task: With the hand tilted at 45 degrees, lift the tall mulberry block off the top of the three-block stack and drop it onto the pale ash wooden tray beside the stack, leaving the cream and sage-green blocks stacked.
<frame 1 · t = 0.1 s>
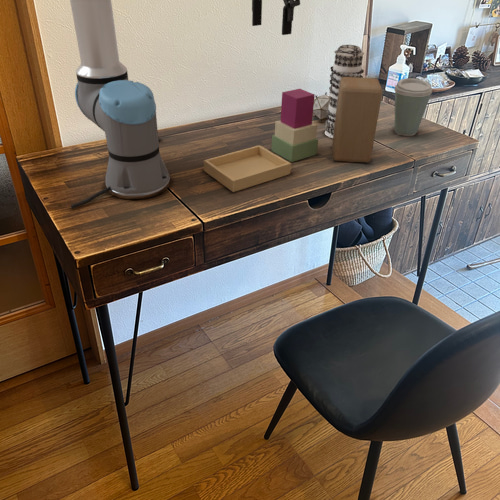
hand: (271, 29, 134), 28 cm above the table, tool pointing down, fingers open, 13 cm apart
game die: (321, 120, 157), on the table
disposable coffee cup: (404, 133, 149), on the table
sage block: (293, 152, 135), on the table, touching cream block
tray: (247, 172, 125), on the table
leaning tower model: (338, 134, 147), on the table
wooden block: (350, 156, 135), on the table
build plate: (135, 143, 139), on the table
mulberry block: (296, 123, 130), point 8 cm above the table, touching cream block
cream block: (295, 137, 133), point 4 cm above the table, touching mulberry block, sage block
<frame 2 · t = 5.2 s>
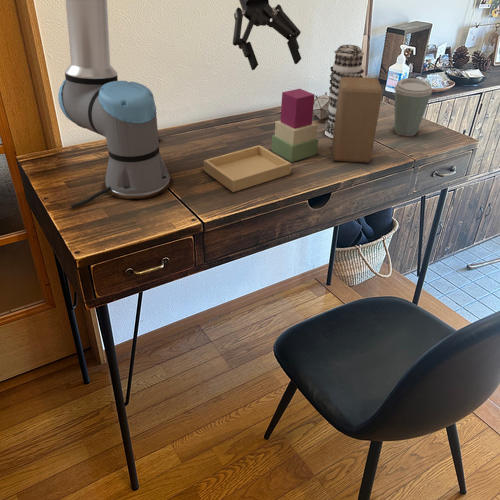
hand: (277, 64, 130), 21 cm above the table, tool tilted 45°, fingers open, 13 cm apart
nothing on the table moved.
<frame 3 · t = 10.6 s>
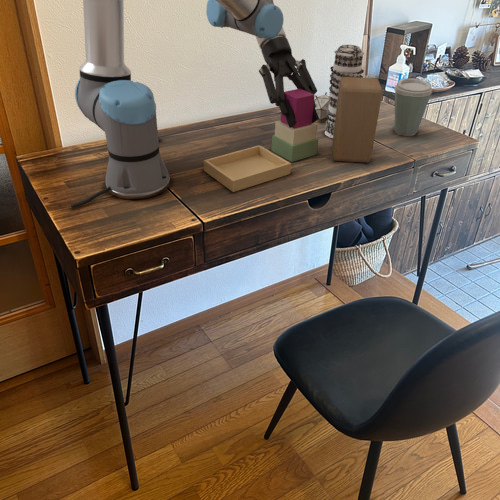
hand: (304, 122, 127), 10 cm above the table, tool tilted 45°, fingers closed on cream block, mulberry block, 6 cm apart
mulberry block: (296, 123, 130), point 9 cm above the table, touching gripper
cream block: (295, 137, 133), point 5 cm above the table, touching gripper, sage block
everything else where it was.
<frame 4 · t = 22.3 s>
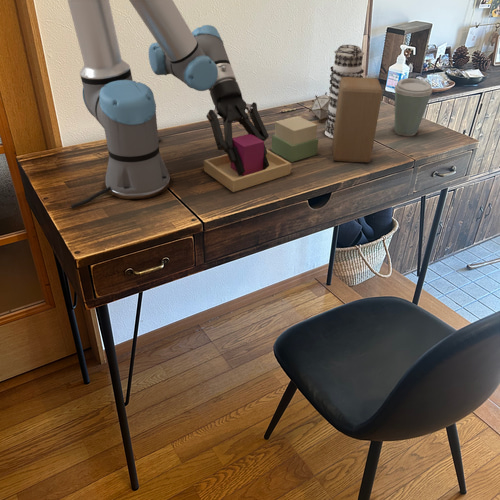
hand: (254, 170, 121), 2 cm above the table, tool tilted 45°, fingers closed on mulberry block, 6 cm apart
mulberry block: (246, 169, 124), point 1 cm above the table, touching gripper
cream block: (295, 137, 133), point 4 cm above the table, touching sage block
everything else where it was.
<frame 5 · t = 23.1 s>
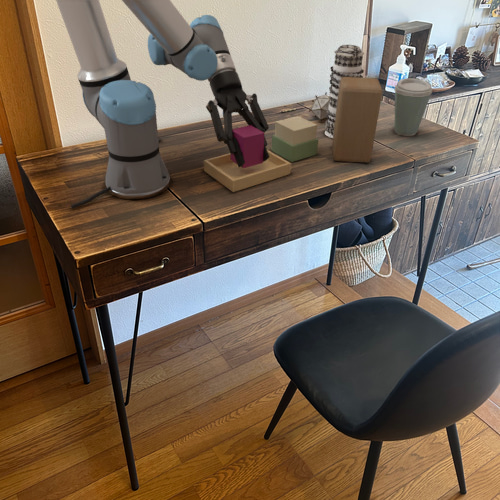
hand: (254, 162, 120), 4 cm above the table, tool tilted 45°, fingers closed on mulberry block, 6 cm apart
mulberry block: (246, 161, 123), point 3 cm above the table, touching gripper
everything else where it was.
when the fingers open (4 cm above the table, at t = 33.4 s): mulberry block drops 2 cm, resting on tray.
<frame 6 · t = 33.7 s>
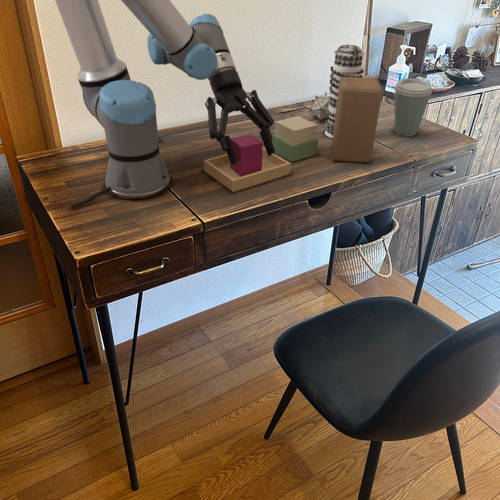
hand: (253, 158, 120), 5 cm above the table, tool tilted 45°, fingers open, 10 cm apart
mulberry block: (245, 169, 124), point 1 cm above the table, touching tray
everything else where it was.
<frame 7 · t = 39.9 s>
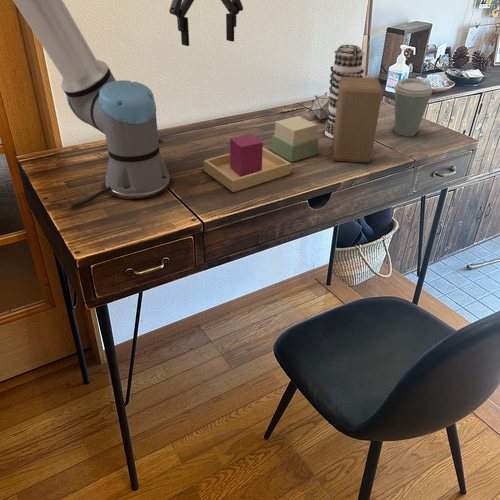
hand: (208, 43, 127), 26 cm above the table, tool pointing down, fingers open, 13 cm apart
nothing on the table moved.
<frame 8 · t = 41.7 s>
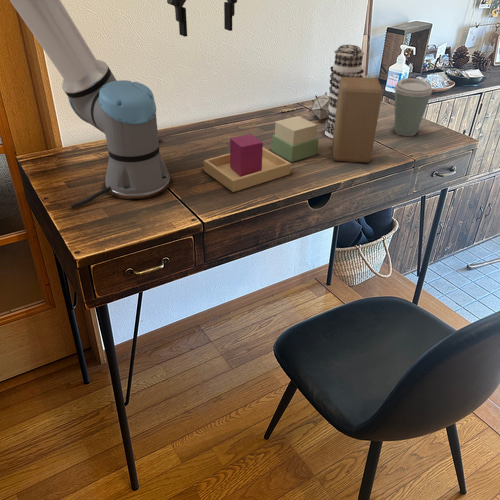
hand: (206, 32, 127), 29 cm above the table, tool pointing down, fingers open, 13 cm apart
nothing on the table moved.
at the end: mulberry block inside the target area in the tray (0.4 cm from its centre), point 0.8 cm above the tray's base; cream block 0.0 cm off-centre on the sage block, point 4.5 cm above the sage block's base; sage block moved 0.0 cm from its start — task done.
